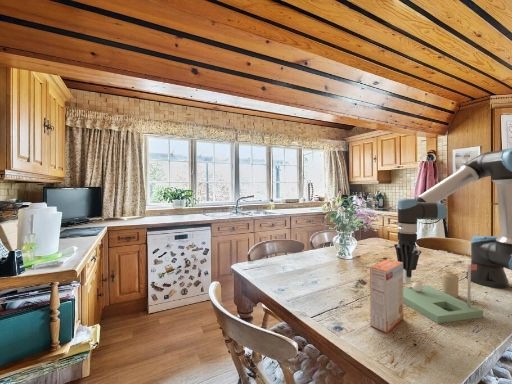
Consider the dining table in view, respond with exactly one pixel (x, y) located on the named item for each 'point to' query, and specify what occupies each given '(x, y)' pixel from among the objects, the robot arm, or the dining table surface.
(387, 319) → the cracker box
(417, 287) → the ball
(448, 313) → the green
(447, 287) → the candle
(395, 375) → the dining table surface
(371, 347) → the dining table surface
